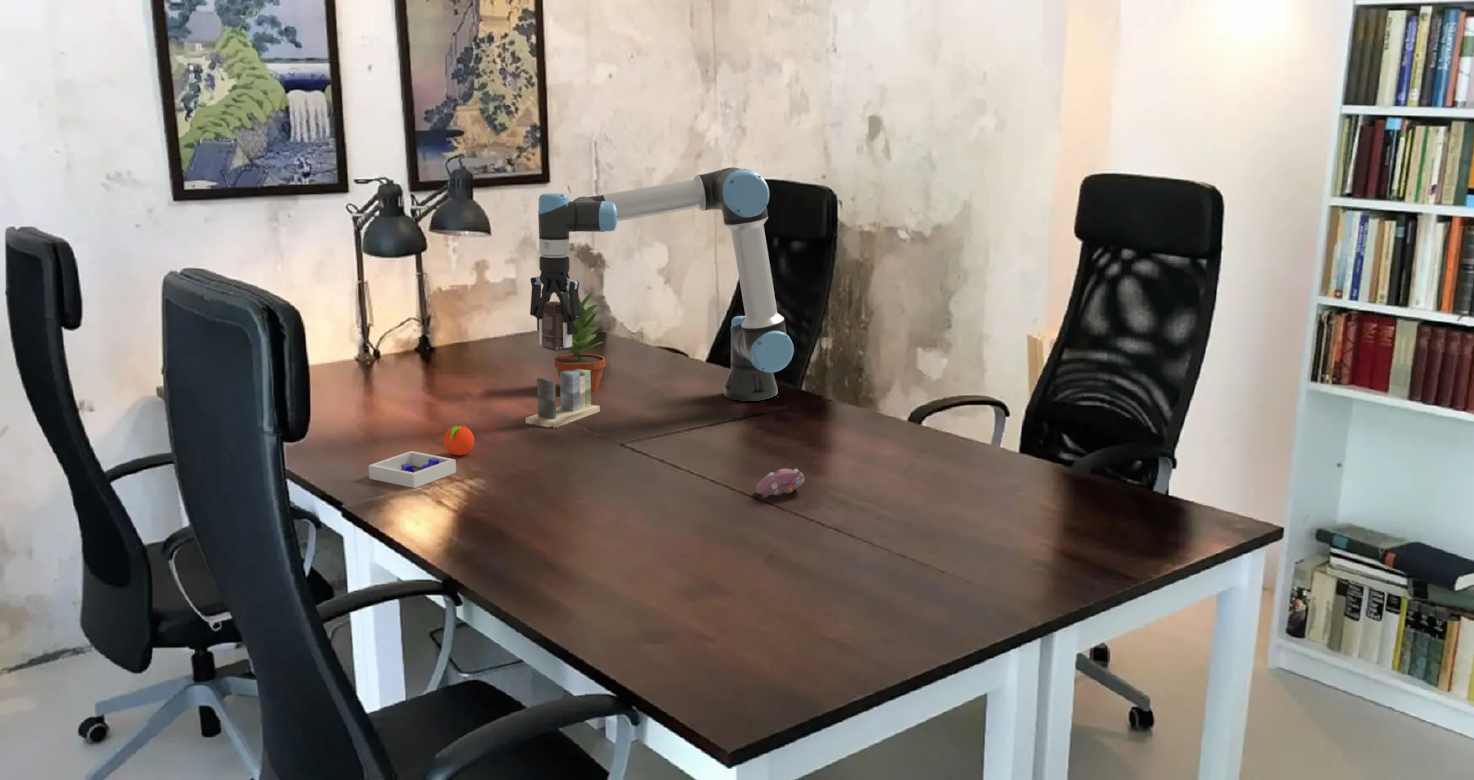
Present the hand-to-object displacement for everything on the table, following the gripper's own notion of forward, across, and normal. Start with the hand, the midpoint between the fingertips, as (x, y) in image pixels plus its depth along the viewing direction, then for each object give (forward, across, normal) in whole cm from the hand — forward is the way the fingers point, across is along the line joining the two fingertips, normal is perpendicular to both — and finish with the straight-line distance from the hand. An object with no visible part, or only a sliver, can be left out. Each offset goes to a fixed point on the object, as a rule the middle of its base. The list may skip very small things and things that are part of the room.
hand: (555, 345), depth 307 cm
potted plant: (+20, -15, +32) cm, 40 cm away
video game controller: (+20, +77, -25) cm, 84 cm away
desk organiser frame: (+20, +3, -55) cm, 59 cm away
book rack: (+20, 0, +3) cm, 20 cm away
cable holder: (+20, +5, -56) cm, 60 cm away
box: (+1, 0, 0) cm, 1 cm away
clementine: (+20, +1, -38) cm, 43 cm away
